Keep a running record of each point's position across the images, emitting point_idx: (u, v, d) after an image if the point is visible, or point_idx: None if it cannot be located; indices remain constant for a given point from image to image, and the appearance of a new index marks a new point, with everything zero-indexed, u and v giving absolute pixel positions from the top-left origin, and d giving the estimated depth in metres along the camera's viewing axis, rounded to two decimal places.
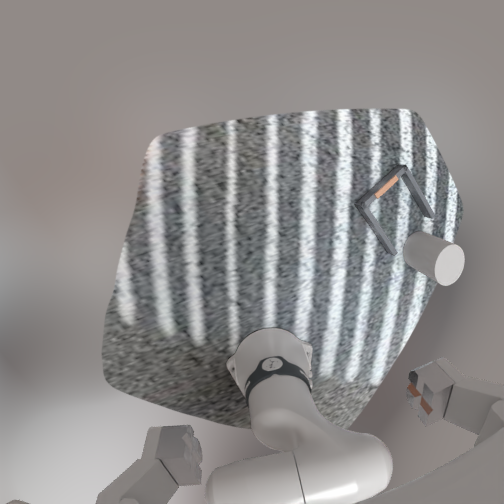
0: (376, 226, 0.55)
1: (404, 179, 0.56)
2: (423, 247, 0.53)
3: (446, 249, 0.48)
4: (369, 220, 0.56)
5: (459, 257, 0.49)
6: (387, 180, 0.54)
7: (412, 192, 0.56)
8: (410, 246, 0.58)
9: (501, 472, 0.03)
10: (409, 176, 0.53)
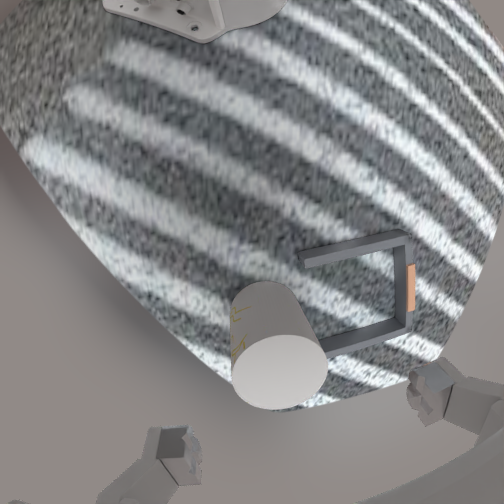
0: (371, 246, 0.31)
1: (384, 323, 0.37)
2: None
3: (321, 373, 0.24)
4: (380, 239, 0.32)
5: (282, 398, 0.25)
6: None
7: (362, 331, 0.36)
8: (295, 298, 0.33)
9: (501, 472, 0.03)
10: (397, 332, 0.35)
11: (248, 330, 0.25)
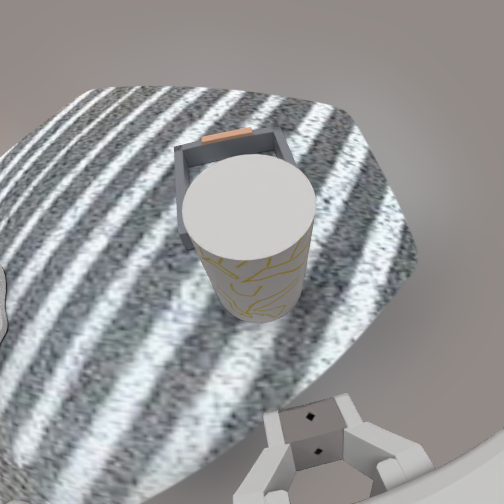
0: (177, 176, 0.32)
1: (277, 156, 0.36)
2: None
3: (250, 159, 0.20)
4: None
5: (291, 194, 0.18)
6: None
7: None
8: None
9: (500, 472, 0.03)
10: (279, 137, 0.34)
11: (200, 257, 0.20)
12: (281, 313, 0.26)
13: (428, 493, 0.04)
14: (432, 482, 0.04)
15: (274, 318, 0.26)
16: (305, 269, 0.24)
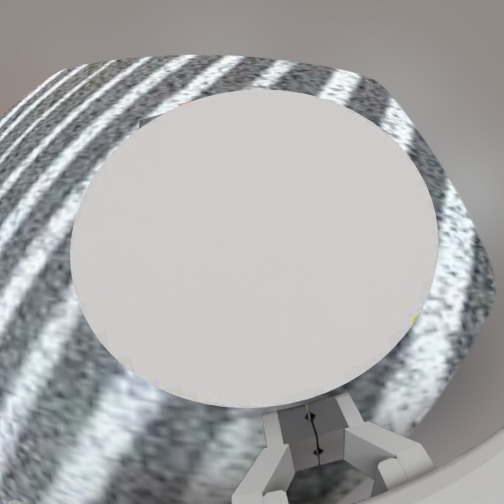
0: None
1: None
2: None
3: (253, 98, 0.08)
4: None
5: (369, 180, 0.06)
6: None
7: None
8: None
9: (501, 472, 0.03)
10: None
11: None
12: None
13: (428, 493, 0.04)
14: (432, 482, 0.04)
15: None
16: None
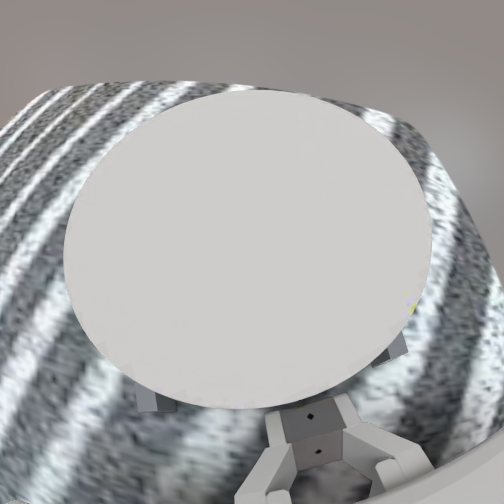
0: None
1: None
2: None
3: (238, 99, 0.08)
4: None
5: (359, 174, 0.06)
6: None
7: None
8: None
9: (501, 472, 0.03)
10: None
11: None
12: None
13: (428, 493, 0.04)
14: (432, 482, 0.04)
15: None
16: None
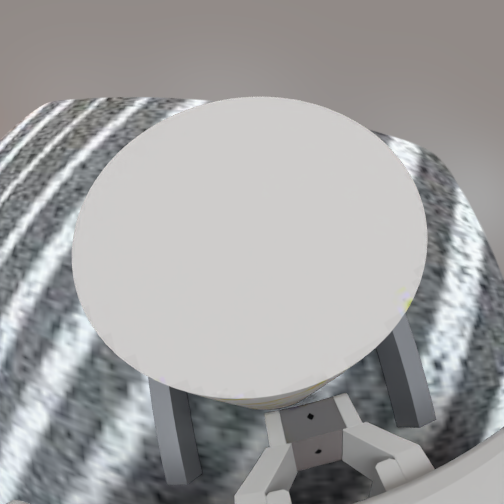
0: None
1: None
2: None
3: (242, 105, 0.08)
4: None
5: (357, 177, 0.07)
6: None
7: None
8: None
9: (500, 472, 0.03)
10: None
11: None
12: None
13: (428, 493, 0.04)
14: (432, 482, 0.04)
15: None
16: None
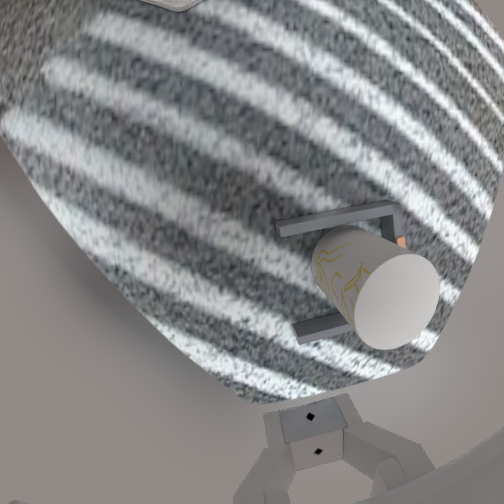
0: (355, 214, 0.29)
1: None
2: None
3: (434, 300, 0.22)
4: (365, 208, 0.30)
5: (398, 333, 0.22)
6: None
7: None
8: None
9: (500, 472, 0.03)
10: None
11: (363, 258, 0.23)
12: (317, 283, 0.32)
13: (428, 493, 0.04)
14: (432, 482, 0.04)
15: (314, 277, 0.33)
16: None
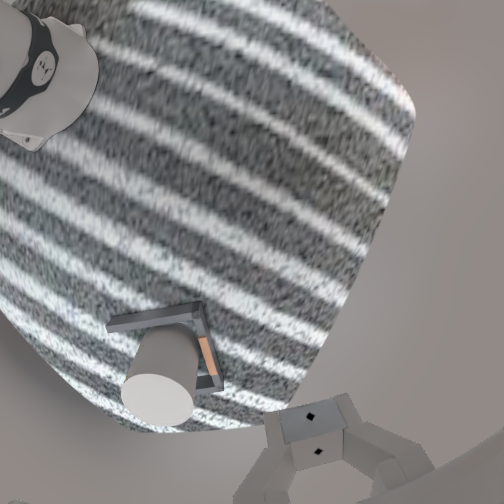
0: (158, 320, 0.36)
1: (201, 379, 0.42)
2: (190, 360, 0.34)
3: (188, 403, 0.29)
4: (170, 313, 0.37)
5: (163, 418, 0.30)
6: (214, 360, 0.39)
7: None
8: (188, 336, 0.38)
9: (501, 472, 0.03)
10: (206, 390, 0.40)
11: (133, 366, 0.30)
12: None
13: (428, 493, 0.04)
14: (432, 482, 0.04)
15: None
16: None
